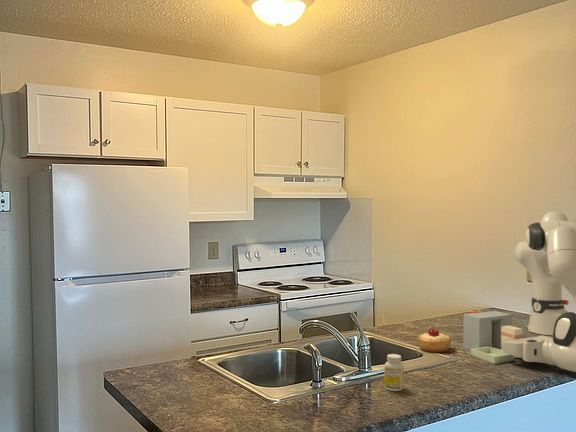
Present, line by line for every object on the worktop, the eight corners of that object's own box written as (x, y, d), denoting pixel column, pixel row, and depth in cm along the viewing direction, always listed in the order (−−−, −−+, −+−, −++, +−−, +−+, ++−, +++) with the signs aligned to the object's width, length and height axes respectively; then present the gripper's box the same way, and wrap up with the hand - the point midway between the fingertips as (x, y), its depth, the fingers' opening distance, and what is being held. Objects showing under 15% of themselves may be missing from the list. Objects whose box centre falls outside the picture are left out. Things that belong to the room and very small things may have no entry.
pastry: (417, 345, 208) (417, 322, 208) (449, 346, 205) (449, 323, 206) (418, 353, 196) (418, 328, 196) (452, 354, 194) (452, 329, 194)
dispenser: (494, 343, 210) (495, 310, 210) (511, 348, 203) (511, 314, 202) (463, 347, 203) (463, 314, 203) (479, 353, 196) (479, 318, 196)
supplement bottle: (395, 392, 154) (396, 359, 154) (380, 388, 158) (380, 355, 158) (406, 388, 158) (407, 356, 157) (391, 384, 162) (391, 352, 161)
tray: (489, 353, 196) (489, 346, 196) (513, 361, 186) (513, 353, 186) (470, 355, 192) (470, 348, 192) (494, 364, 182) (494, 356, 182)
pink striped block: (508, 352, 196) (508, 325, 196) (522, 357, 190) (522, 328, 190) (500, 353, 194) (501, 326, 194) (514, 358, 189) (514, 329, 188)
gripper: (566, 337, 184) (532, 328, 196) (523, 343, 175) (490, 333, 188) (566, 355, 184) (532, 346, 196) (523, 362, 175) (490, 352, 188)
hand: (511, 340), depth 192 cm, fingers closed on pink striped block, 4 cm apart
